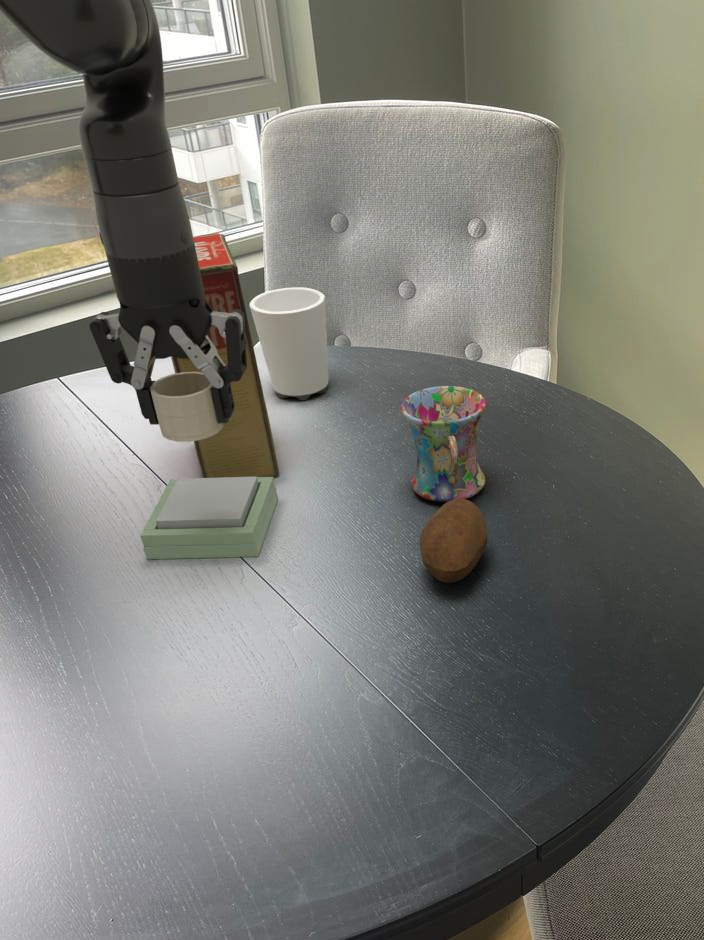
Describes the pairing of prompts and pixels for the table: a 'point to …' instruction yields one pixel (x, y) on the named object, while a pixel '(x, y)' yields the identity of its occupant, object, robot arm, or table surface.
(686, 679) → the table surface
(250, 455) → the food packaging
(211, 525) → the pan
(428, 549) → the potato
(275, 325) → the cup
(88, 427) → the table surface
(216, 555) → the scale
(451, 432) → the mug
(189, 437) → the beige round pot
